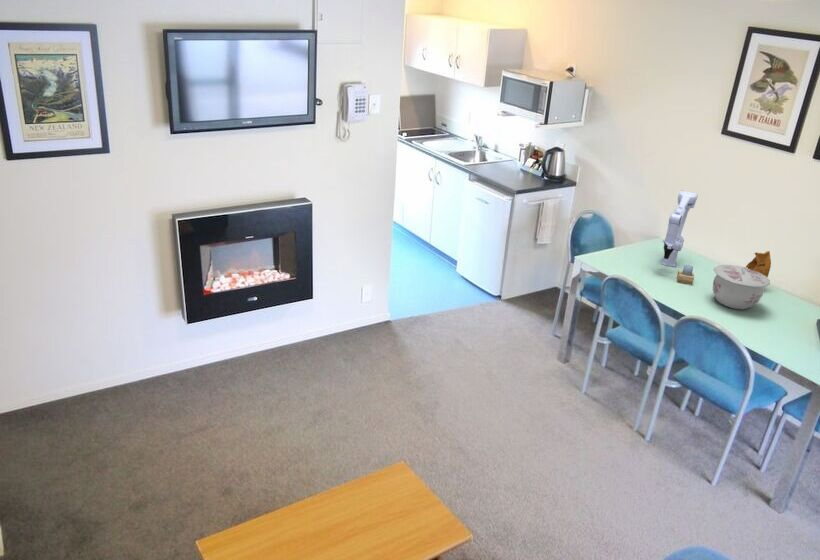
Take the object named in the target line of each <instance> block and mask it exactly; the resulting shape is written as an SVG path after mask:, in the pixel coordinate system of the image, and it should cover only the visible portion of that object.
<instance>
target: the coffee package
mask: <svg viewBox="0 0 820 560" xmlns="http://www.w3.org/2000/svg"><path fill="white" fill-rule="evenodd" d="M754 255H755V256H754V258H753V259H752V260H751V261H750V262H748V263H747V264H746V265H745V267H748V268H749V269H752V270H755V271H757V272H759V273H761V274H763V275H765V276H766V277H767V278H769V276H770V275H769V274H770V271H771V267H772V266H771V265H772V259H771V252H770V251H769V250H767V251H765V252H764V253H762V252H756V251H755V253H754Z"/></svg>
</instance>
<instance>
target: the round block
mask: <svg viewBox="0 0 820 560" xmlns="http://www.w3.org/2000/svg"><path fill="white" fill-rule="evenodd" d="M682 271H683V272H682V274H684V275H687V276H691V275H692V273H693V271H694V266H693V265H690V264H684V265H683V268H682Z"/></svg>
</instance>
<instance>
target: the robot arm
mask: <svg viewBox="0 0 820 560" xmlns="http://www.w3.org/2000/svg"><path fill="white" fill-rule="evenodd" d="M698 196H699V195H698V193H694V192H689V191H685V190H680V191H679V193H678V196H677V204H678V205H677V206H676V207H675V208H674V210H673V212H672V213H670V216H669V218H668V225H667V231H666V235H665V238H664V239H662V241H661V242H662V243H663V251H664V252H663V253H664V254H663V258H661V265H665V266H668V267H672V268H673V267H675V268H676V265H677V264H676V263H677V258H678V255H679V252H681V251H682V249H683V245H684V242H685V239H684V237H683V236H682V235H681V234H682V232H683V229H684V226H685V222H686V219H687V217H688V213H689V212H690V210H691V209H694V208H695V205H696V203H697V200H698Z"/></svg>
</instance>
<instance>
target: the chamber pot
mask: <svg viewBox="0 0 820 560" xmlns="http://www.w3.org/2000/svg"><path fill="white" fill-rule="evenodd" d="M713 271H714V273H715V276H714V277H713V282H712V292H713V295H714V297H715V300H716V301H717V302H718V303H720V304H722V305H723V306H725V307H728V308H730V309H735V310H749V309H750V308H753V307H754V306H755V305H756V304H758V303H759V302H760V301H761V299H762V297H763V295H764V292H765V287H767V286H769V285H770V284H771V281H770V279H769V277H766V276H765V275H763V274H761V273H759V272H757V271H755V270H752V269H749V268H748V267H746V266H745V267H744V266H740V265H735V264H734V265H732V264H720V265H717V266H715V267H714V268H713Z"/></svg>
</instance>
